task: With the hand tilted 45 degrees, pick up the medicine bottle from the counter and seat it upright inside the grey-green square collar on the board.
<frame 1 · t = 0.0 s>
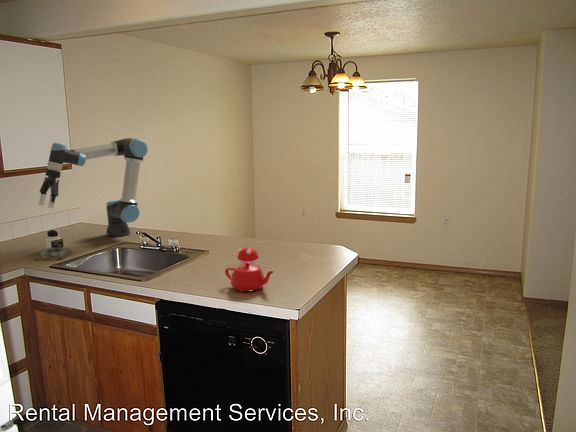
hand: (45, 206, 269), 28 cm above the worktop, tool tilted 20°, fingers open, 13 cm apart
medicine bottle: (55, 250, 283), on the worktop
collar board: (54, 256, 269), on the worktop
teapot: (249, 288, 214), on the worktop
mushroom: (248, 270, 240), on the worktop
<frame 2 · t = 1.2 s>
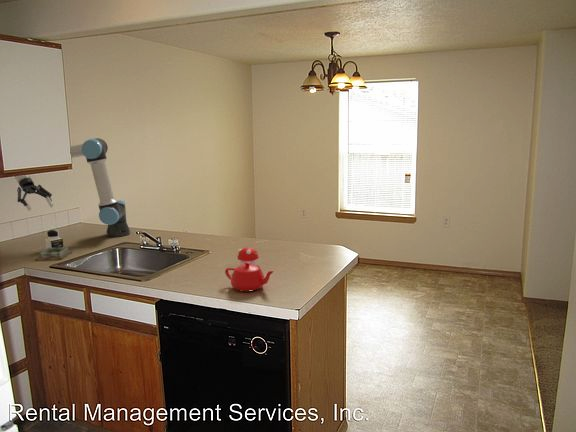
hand: (41, 207, 284), 25 cm above the worktop, tool tilted 45°, fingers open, 13 cm apart
nothing on the worktop moved.
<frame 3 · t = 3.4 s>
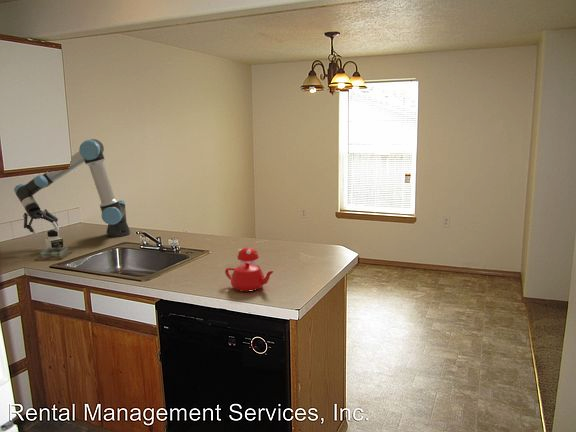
hand: (47, 233, 283), 10 cm above the worktop, tool tilted 45°, fingers open, 13 cm apart
nothing on the worktop moved.
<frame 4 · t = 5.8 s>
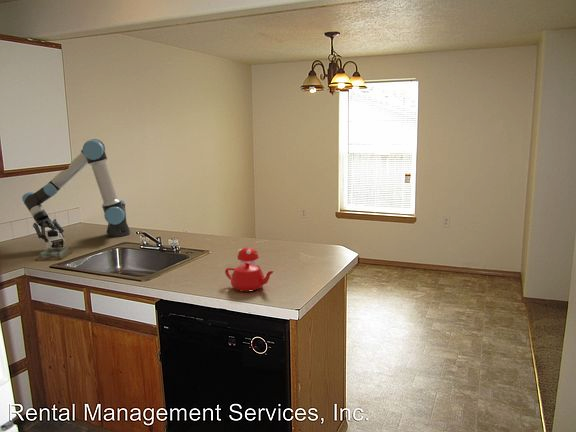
hand: (57, 244, 280), 4 cm above the worktop, tool tilted 45°, fingers closed on medicine bottle, 7 cm apart
medicine bottle: (55, 250, 283), on the worktop, touching gripper
everything else where it was.
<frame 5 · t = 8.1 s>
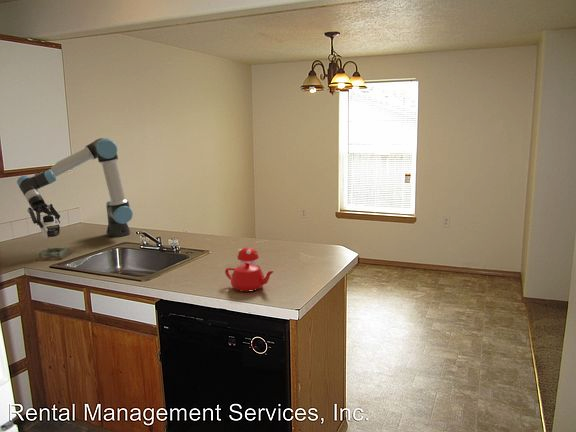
hand: (53, 230, 265), 16 cm above the worktop, tool tilted 45°, fingers closed on medicine bottle, 7 cm apart
medicine bottle: (51, 236, 268), point 11 cm above the worktop, touching gripper
everything else where it was.
when the fingers open (7 cm above the worktop, at t = 10.7 s): medicine bottle stays where it is, resting on collar board.
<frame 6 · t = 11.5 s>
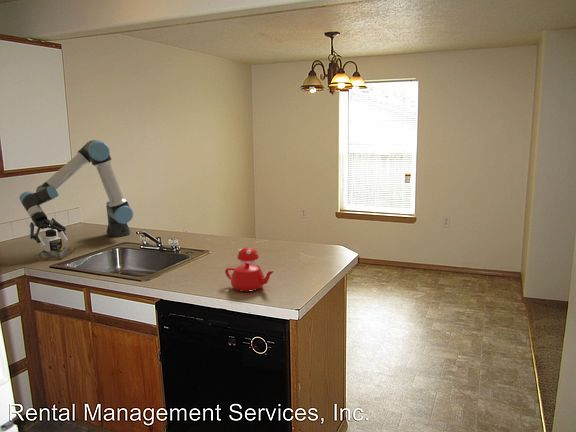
hand: (55, 243, 266), 8 cm above the worktop, tool tilted 45°, fingers open, 13 cm apart
medicine bottle: (53, 250, 269), point 3 cm above the worktop, touching collar board
everything else where it was.
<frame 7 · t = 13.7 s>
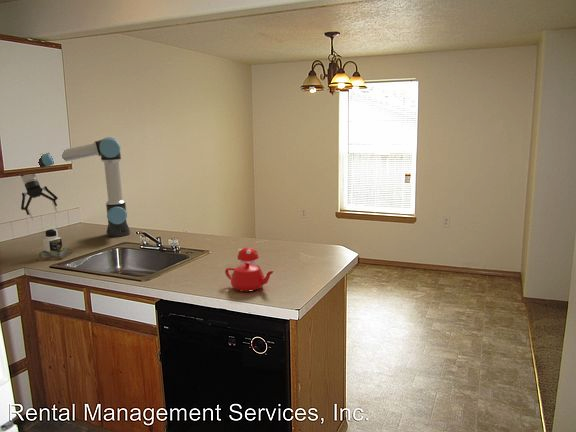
hand: (44, 215, 280), 21 cm above the worktop, tool tilted 25°, fingers open, 13 cm apart
nothing on the worktop moved.
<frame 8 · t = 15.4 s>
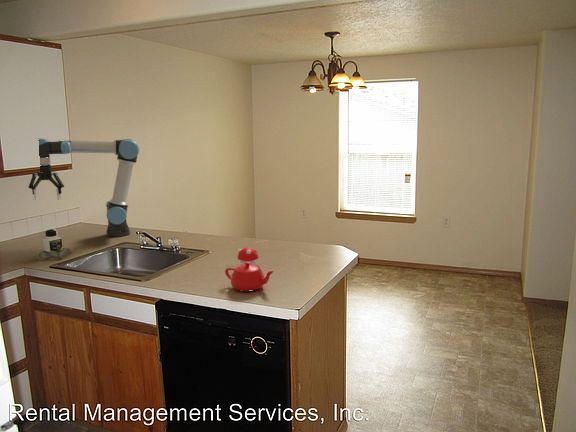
hand: (47, 199, 288), 29 cm above the worktop, tool pointing down, fingers open, 13 cm apart
nothing on the worktop moved.
at the end: medicine bottle 0.2 cm from the collar board (horizontally); medicine bottle tilted 0°; the gripper is holding nothing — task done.
